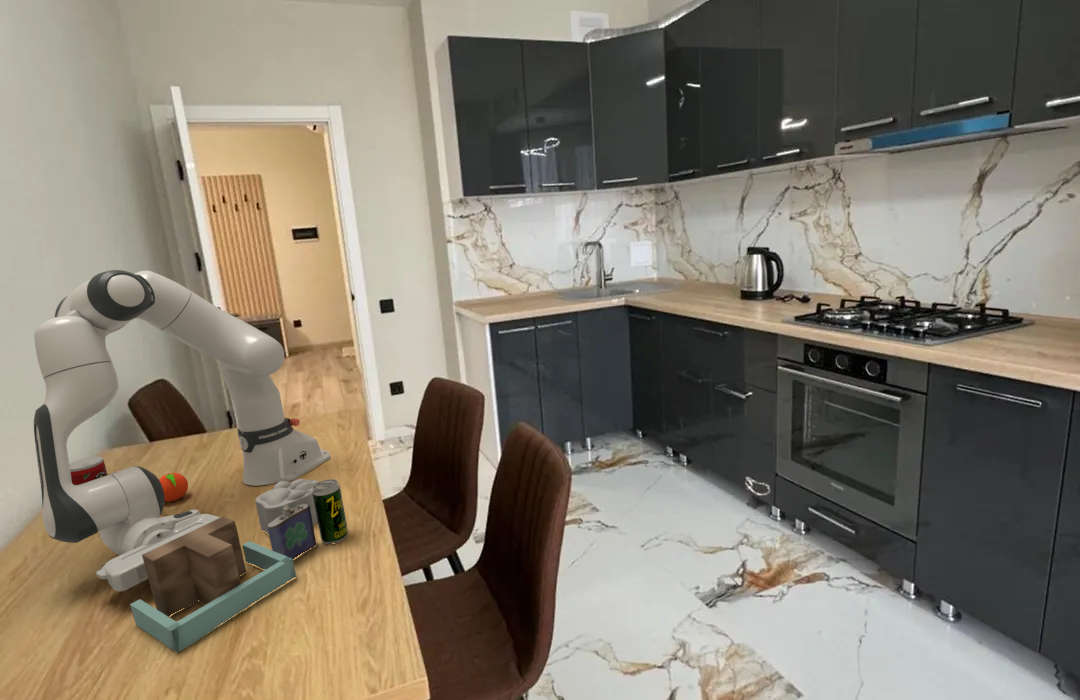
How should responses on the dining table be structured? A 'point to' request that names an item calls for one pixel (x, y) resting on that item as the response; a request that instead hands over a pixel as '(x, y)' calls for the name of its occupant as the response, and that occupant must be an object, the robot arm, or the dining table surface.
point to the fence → (217, 601)
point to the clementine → (174, 486)
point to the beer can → (330, 511)
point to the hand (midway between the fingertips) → (190, 561)
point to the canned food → (87, 470)
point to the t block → (195, 566)
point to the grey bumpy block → (285, 500)
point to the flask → (292, 531)
